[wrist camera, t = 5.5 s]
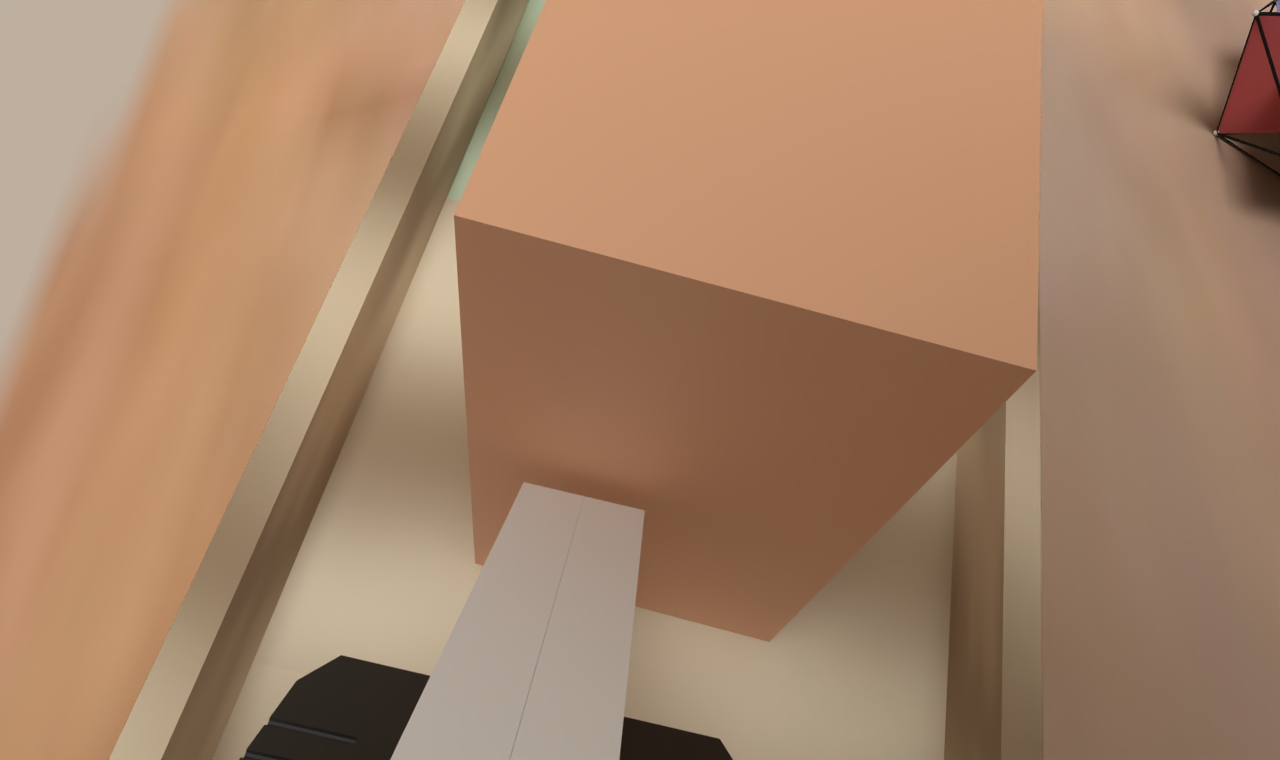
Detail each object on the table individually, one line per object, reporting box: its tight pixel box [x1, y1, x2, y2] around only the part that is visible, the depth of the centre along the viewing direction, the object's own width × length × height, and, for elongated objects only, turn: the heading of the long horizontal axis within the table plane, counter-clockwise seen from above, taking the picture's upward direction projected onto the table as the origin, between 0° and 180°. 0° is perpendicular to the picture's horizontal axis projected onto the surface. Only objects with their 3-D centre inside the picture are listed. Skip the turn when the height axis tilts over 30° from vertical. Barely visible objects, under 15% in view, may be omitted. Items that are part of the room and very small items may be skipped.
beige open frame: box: [109, 0, 1043, 760], centre depth 20 cm, size 30×12×5 cm, turn 168°
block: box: [454, 0, 1043, 642], centre depth 13 cm, size 5×5×9 cm
